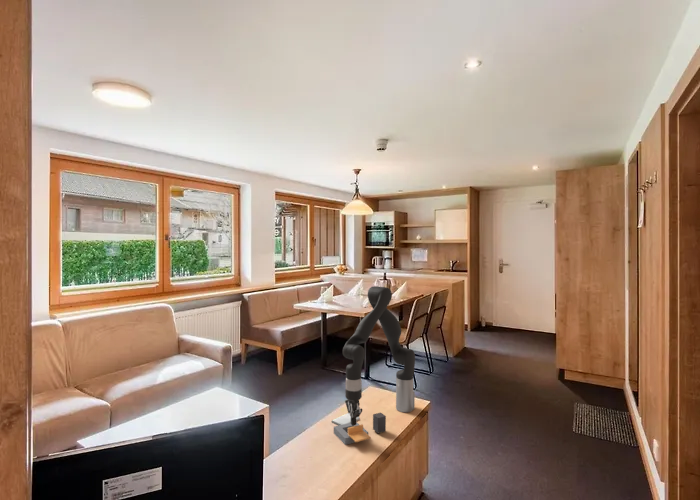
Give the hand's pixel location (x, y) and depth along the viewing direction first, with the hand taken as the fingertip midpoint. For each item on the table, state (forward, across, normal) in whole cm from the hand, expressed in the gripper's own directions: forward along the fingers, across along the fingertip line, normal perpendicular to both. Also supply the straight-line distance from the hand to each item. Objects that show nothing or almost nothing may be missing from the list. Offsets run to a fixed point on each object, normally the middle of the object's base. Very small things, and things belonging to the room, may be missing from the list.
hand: (353, 424), depth 171 cm
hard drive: (+7, +17, -5) cm, 19 cm away
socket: (+6, +2, 0) cm, 7 cm away
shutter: (+3, -6, 0) cm, 6 cm away
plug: (+6, -1, -14) cm, 15 cm away
